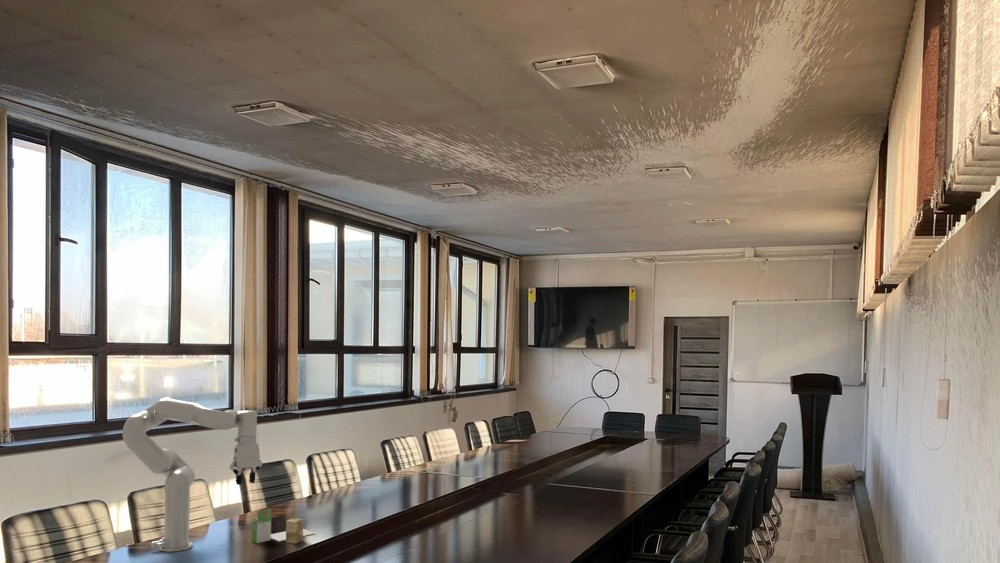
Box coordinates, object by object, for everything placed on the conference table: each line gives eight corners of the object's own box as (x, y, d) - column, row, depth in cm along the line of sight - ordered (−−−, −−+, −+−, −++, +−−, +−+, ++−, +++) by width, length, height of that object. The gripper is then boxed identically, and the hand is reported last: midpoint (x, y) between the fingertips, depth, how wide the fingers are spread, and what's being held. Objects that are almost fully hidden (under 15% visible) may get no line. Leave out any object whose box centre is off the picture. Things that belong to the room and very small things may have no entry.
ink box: (265, 538, 323) (266, 507, 324) (271, 540, 321) (271, 508, 322) (251, 542, 318) (252, 510, 319) (256, 543, 315) (257, 511, 316)
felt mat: (279, 541, 319) (279, 540, 319) (265, 536, 327) (265, 535, 327) (315, 534, 331) (316, 533, 331) (301, 529, 340) (301, 528, 340)
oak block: (294, 543, 316) (295, 521, 317) (285, 542, 318) (286, 520, 319) (303, 540, 320) (303, 519, 321) (294, 539, 323) (294, 518, 323)
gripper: (231, 442, 308) (230, 487, 307) (269, 438, 320) (268, 482, 319) (223, 440, 313) (221, 485, 312) (261, 437, 326) (259, 479, 324)
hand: (245, 483), depth 315 cm, fingers open, 5 cm apart
